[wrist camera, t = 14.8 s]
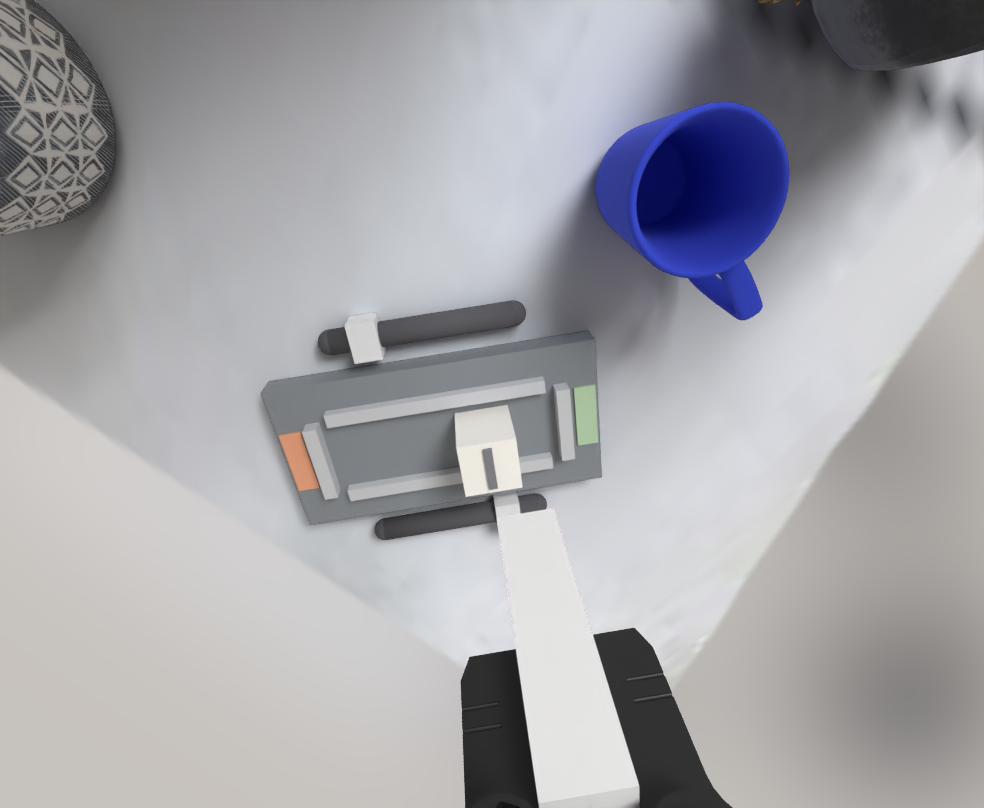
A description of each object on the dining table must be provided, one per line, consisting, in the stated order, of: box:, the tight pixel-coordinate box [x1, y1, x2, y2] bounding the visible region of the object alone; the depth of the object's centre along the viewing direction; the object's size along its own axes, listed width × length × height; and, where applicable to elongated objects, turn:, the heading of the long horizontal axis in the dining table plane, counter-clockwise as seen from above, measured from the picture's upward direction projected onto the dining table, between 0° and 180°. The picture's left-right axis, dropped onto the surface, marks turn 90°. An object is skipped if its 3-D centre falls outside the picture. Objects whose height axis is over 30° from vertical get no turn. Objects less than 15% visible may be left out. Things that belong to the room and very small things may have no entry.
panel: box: [261, 331, 602, 525], centre depth 41 cm, size 12×24×3 cm, turn 98°
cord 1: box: [318, 301, 526, 364], centre depth 37 cm, size 3×15×2 cm, turn 98°
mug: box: [596, 102, 789, 320], centre depth 32 cm, size 8×12×10 cm
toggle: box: [455, 405, 523, 497], centre depth 38 cm, size 4×4×5 cm
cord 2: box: [375, 491, 547, 540], centre depth 45 cm, size 3×15×2 cm, turn 98°
